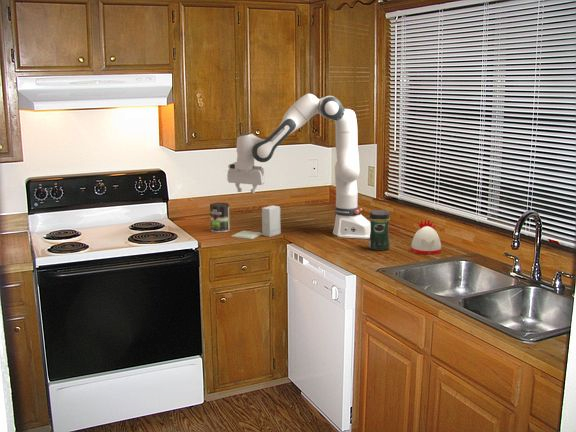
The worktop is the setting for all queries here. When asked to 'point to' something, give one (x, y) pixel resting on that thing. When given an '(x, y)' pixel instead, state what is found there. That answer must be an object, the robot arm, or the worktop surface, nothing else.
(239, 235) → the plate
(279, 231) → the skincare box
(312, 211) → the worktop surface
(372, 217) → the coffee jar
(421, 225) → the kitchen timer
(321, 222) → the worktop surface
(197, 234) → the worktop surface
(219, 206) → the coffee can
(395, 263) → the worktop surface
